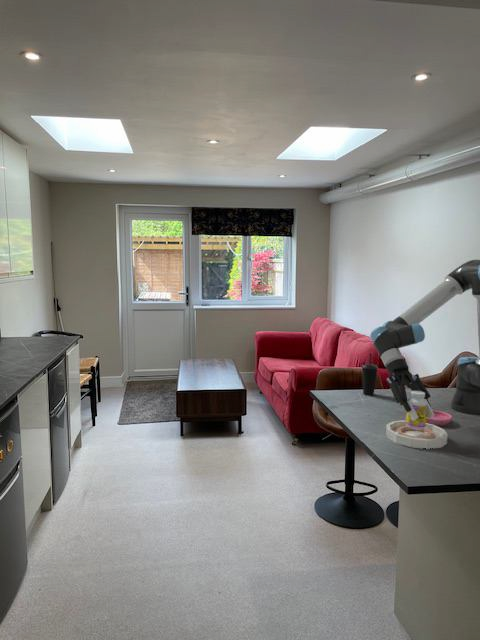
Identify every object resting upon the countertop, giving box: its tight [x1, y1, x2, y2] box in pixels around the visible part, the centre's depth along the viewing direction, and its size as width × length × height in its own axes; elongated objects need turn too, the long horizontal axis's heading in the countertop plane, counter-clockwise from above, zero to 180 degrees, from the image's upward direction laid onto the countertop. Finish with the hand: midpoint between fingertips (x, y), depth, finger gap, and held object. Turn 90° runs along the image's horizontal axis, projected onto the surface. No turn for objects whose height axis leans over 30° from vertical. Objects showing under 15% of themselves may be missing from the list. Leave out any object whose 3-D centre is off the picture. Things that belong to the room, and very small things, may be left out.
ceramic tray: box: [385, 419, 448, 450], centre depth 166 cm, size 20×20×3 cm
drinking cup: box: [361, 352, 379, 397], centre depth 221 cm, size 8×8×20 cm
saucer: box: [426, 409, 453, 427], centre depth 184 cm, size 12×12×3 cm
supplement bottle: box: [405, 390, 427, 430], centre depth 165 cm, size 7×7×13 cm
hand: (423, 418), depth 162 cm, fingers closed on supplement bottle, 7 cm apart
